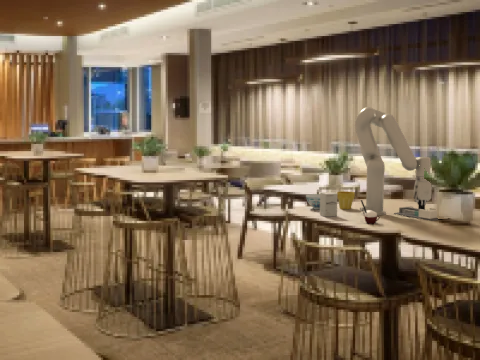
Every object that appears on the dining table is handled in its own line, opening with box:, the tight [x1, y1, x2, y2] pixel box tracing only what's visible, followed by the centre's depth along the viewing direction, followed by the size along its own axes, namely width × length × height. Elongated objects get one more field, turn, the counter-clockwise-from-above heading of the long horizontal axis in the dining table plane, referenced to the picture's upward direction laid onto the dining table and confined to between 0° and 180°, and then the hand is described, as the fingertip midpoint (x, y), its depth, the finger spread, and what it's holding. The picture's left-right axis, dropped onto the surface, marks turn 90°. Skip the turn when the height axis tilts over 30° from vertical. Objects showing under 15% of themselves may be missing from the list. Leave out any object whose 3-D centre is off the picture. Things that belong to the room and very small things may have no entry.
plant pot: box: [336, 190, 355, 210], centre depth 359 cm, size 10×10×10 cm
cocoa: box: [360, 199, 381, 225], centre depth 308 cm, size 10×6×12 cm
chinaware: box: [305, 193, 320, 211], centre depth 358 cm, size 15×15×8 cm
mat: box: [393, 212, 439, 222], centre depth 331 cm, size 14×27×1 cm, turn 32°
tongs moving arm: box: [408, 206, 427, 211], centre depth 334 cm, size 2×12×3 cm, turn 32°
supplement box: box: [319, 191, 338, 218], centre depth 332 cm, size 7×7×13 cm
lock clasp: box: [419, 207, 437, 219], centre depth 323 cm, size 10×8×4 cm
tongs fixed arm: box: [398, 205, 419, 216], centre depth 335 cm, size 9×15×3 cm, turn 32°
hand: (421, 212), depth 336 cm, fingers closed
